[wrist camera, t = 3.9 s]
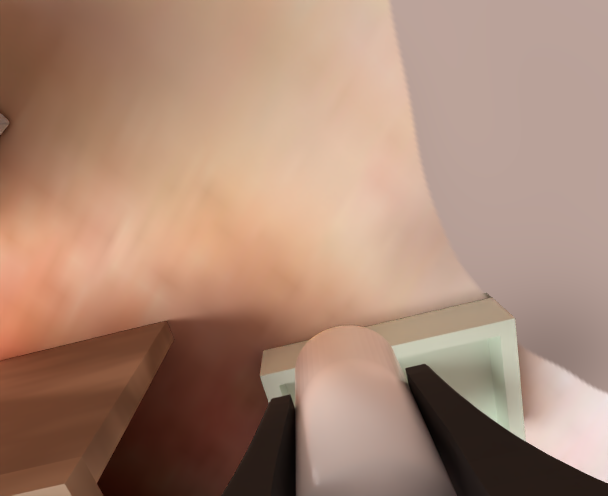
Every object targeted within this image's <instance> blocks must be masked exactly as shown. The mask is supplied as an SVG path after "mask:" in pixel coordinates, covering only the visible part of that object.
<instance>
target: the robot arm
mask: <svg viewBox="0 0 608 496" xmlns="http://www.w3.org/2000/svg"><path fill="white" fill-rule="evenodd" d="M405 370H406V375H407V380H408V385H409V387H410V389H411V392H412V394H413V396H414V399H415V401H416V403H417V405H418V408H419V410H420V412H421V414H422V417H423V419H424V421H425V424H426V426H427V428H428V430H429V433H430V435H431V437H432V440H433V442H434V444H435V446H436V449H437V451H438V453H439V455H440V458H441V460H442V462H443V465H444V467H445V469H446V471H447V474H448V476H449V478H450V481H451V483H452V485H453V487H454V490H455V492H456V494H457V496H608V483H605V482H603V481H601V480H598V479H596V478H594V477H592V476H590V475H588V474H585V473H583V472H581V471H579V470H577V469H575V468H573V467H571V466H569V465H567V464H565V463H564V462H562V461H560V460H558V459H556V458H554V457H552V456H550V455H548V454H546V453H544V452H543V451H541V450H539V449H537V448H536V447H534V446H532V445H531V444H529V443H527V442H526V441H524V440H522V439H521V438H519V437H518V436H516V435H514V434H513V433H511V432H510V431H508V430H507V429H505V428H504V427H502V426H501V425H499V424H498V423H497V422H495V421H494V420H492V419H491V418H490V417H488V416H487V415H485V414H484V413H483V412H481V411H480V410H479V409H477V408H476V407H475V406H474V405H472V404H471V403H470V402H469V401H467V400H466V399H465V398H464V397H462V396H461V395H460V394H459V393H458V392H456V391H455V390H454V389H453V388H452V387H451V386H449V385H448V384H447V383H446V382H445V381H444V380H443V379H442V378H441V377H439V376H438V375H437V374H436V373H435V372H434V371H433V370H432V369H431V368H430V367H429V366H428V365H426V364H421V365H417V366H412V367H408V368H405ZM221 496H296V448H295V407H294V404H293V401H292V398H291V394H289V395H285V396H281V397H276V398H272V399H271V400H270V402H269V404H268V406H267V409H266V411H265V414H264V416H263V418H262V420H261V423H260V425H259V427H258V429H257V431H256V434H255V436H254V438H253V440H252V442H251V444H250V446H249V448H248V450H247V452H246V454H245V456H244V458H243V459H242V461H241V463H240V465H239V467H238V468H237V470H236V472H235V474H234V476H233V477H232V479H231V481H230V483H229V484H228V486H227V487H226V489H225V491H224V492H223V494H222V495H221Z"/></svg>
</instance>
